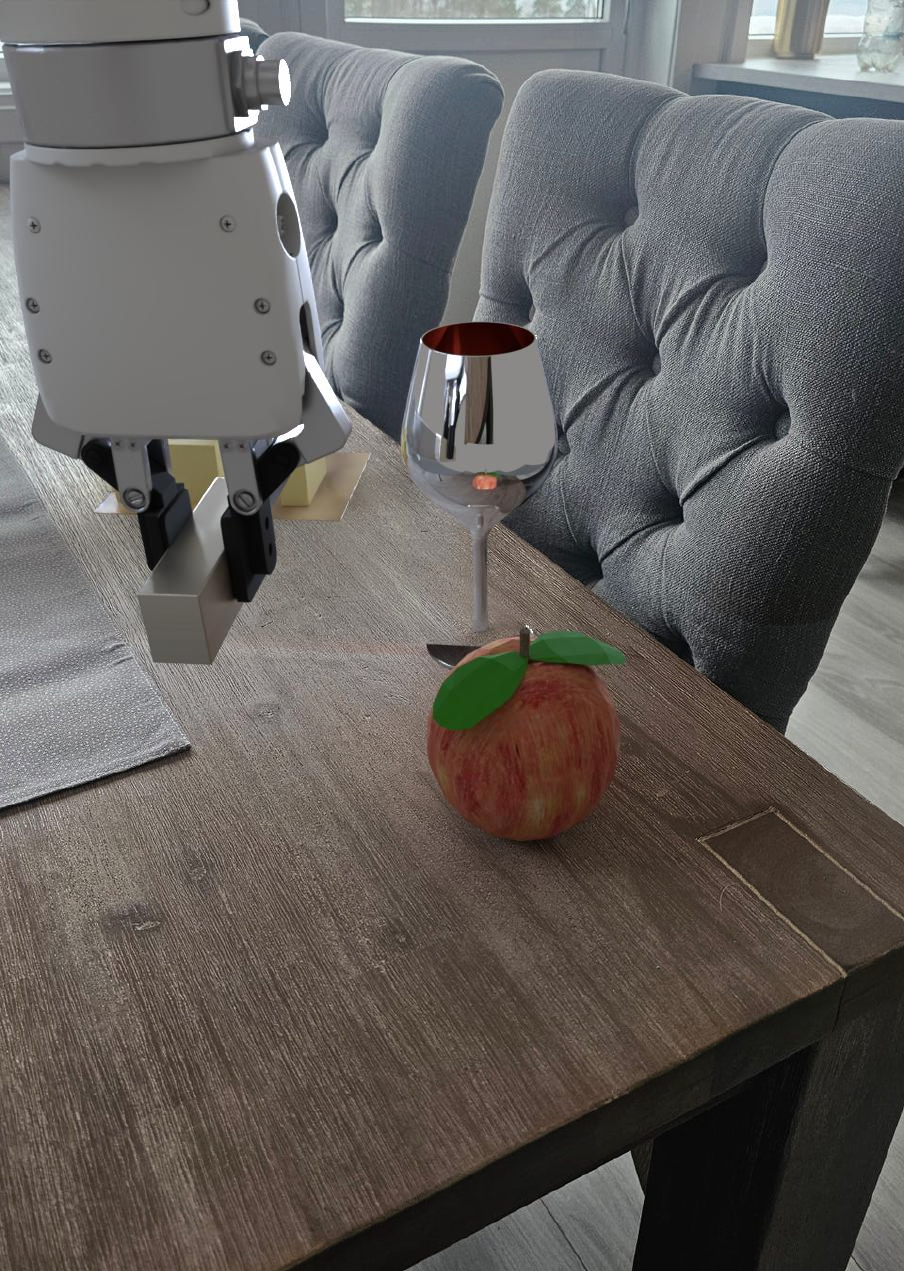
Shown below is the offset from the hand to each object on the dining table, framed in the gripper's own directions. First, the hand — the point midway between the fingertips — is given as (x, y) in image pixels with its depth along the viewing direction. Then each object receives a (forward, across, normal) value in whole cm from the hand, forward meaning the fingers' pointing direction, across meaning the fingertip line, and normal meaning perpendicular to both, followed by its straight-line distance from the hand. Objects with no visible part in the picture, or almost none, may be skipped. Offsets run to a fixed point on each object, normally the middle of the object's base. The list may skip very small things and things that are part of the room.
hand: (216, 582), depth 45 cm
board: (+12, +10, -33) cm, 37 cm away
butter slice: (+10, +5, -32) cm, 34 cm away
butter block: (+10, +14, -32) cm, 37 cm away
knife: (+1, 0, -5) cm, 5 cm away
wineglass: (+12, -10, -14) cm, 21 cm away
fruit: (+12, -13, 0) cm, 18 cm away
